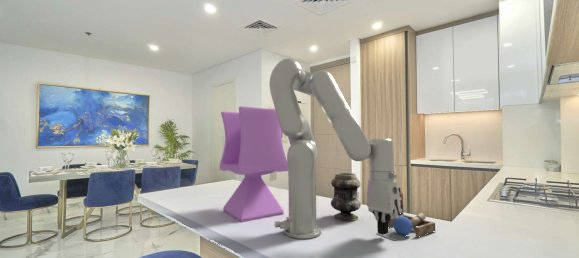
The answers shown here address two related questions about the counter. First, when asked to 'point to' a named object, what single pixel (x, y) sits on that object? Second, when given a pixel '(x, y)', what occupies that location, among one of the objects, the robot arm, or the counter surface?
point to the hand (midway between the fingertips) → (382, 233)
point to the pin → (417, 219)
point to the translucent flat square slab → (392, 235)
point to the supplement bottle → (401, 202)
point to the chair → (252, 161)
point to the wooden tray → (422, 227)
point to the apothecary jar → (345, 196)
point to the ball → (402, 225)
